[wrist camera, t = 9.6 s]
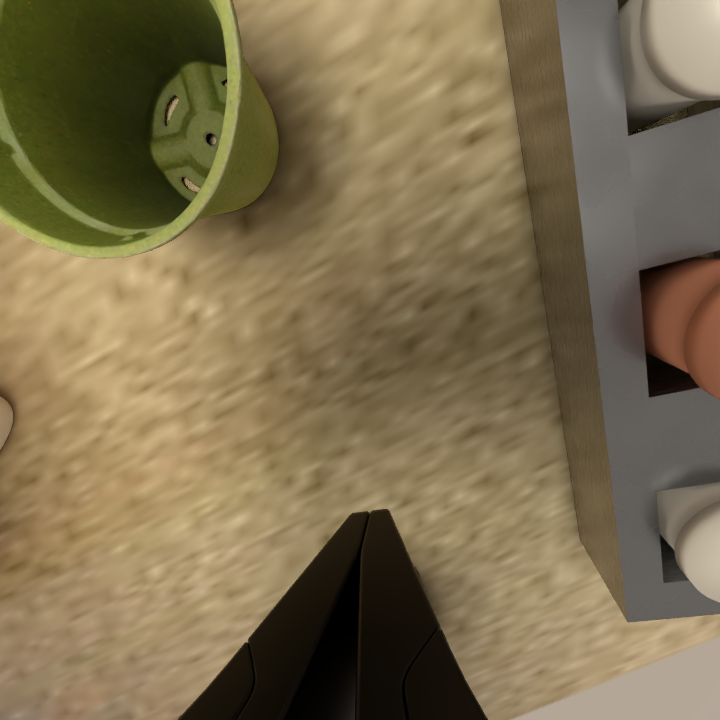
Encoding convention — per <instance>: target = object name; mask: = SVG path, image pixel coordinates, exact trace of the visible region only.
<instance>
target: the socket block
mask: <svg viewBox="0 0 720 720" xmlns="http://www.w3.org/2000/svg"><path fill="white" fill-rule="evenodd" d="M627 1H628V0H500V6H501V13H502V20H503V26H504V33H505V40H506V47H507V53H508V60H509V67H510V73H511V80H512V87H513V93H514V100H515V107H516V113H517V120H518V127H519V133H520V140H521V147H522V154H523V160H524V167H525V174H526V180H527V187H528V194H529V200H530V207H531V214H532V220H533V227H534V234H535V240H536V247H537V254H538V260H539V267H540V274H541V281H542V287H543V294H544V301H545V307H546V314H547V321H548V327H549V334H550V341H551V347H552V354H553V361H554V367H555V374H556V381H557V387H558V394H559V401H560V408H561V414H562V421H563V428H564V434H565V441H566V448H567V454H568V461H569V468H570V474H571V481H572V488H573V494H574V501H575V508H576V515H577V521H578V528H579V535H580V540H581V542H582V544H583V546H584V547H585V549H586V551H587V553H588V554H589V556H590V558H591V560H592V561H593V563H594V565H595V566H596V568H597V570H598V572H599V573H600V575H601V577H602V579H603V580H604V582H605V584H606V586H607V587H608V589H609V591H610V593H611V594H612V596H613V598H614V600H615V601H616V603H617V605H618V606H619V608H620V610H621V612H622V613H623V615H624V617H625V619H626V620H627V622H638V621H649V620H660V619H670V618H681V617H692V616H703V615H714V614H720V602H717V601H714V600H712V599H710V598H708V597H706V596H705V595H703V594H702V593H701V592H700V591H698V590H697V589H696V588H695V586H694V585H693V584H692V583H691V582H690V580H689V579H688V578H687V577H686V575H685V574H684V573H683V572H682V571H681V569H680V568H679V566H678V564H677V562H676V559H675V551H674V549H673V548H672V547H671V546H670V545H669V544H668V542H667V541H666V540H665V539H664V538H663V537H662V535H661V534H660V533H659V520H658V507H657V495H656V492H657V491H663V490H670V489H677V488H683V487H690V486H697V485H704V484H710V483H717V482H720V400H719V399H717V398H715V397H714V396H712V395H710V394H708V393H707V392H705V391H704V390H703V389H701V388H700V387H699V386H698V385H697V384H696V383H695V381H694V380H693V378H692V377H691V375H690V374H689V373H687V372H685V371H683V370H681V369H679V368H677V367H675V366H673V365H671V364H669V363H667V362H665V361H662V360H660V359H658V358H656V357H654V356H652V355H650V354H648V353H646V352H645V343H644V330H643V317H642V305H641V292H640V279H639V270H642V269H646V268H650V267H654V266H658V265H662V264H666V263H670V262H674V261H678V260H682V259H686V258H690V257H704V258H718V259H720V100H713V101H709V100H702V101H700V102H698V103H696V104H693V105H691V106H689V107H688V118H684V119H681V120H678V121H675V122H672V123H668V124H665V125H662V126H659V127H656V128H652V129H649V130H646V131H643V132H640V133H636V134H633V135H630V136H628V127H627V114H626V102H625V89H624V76H623V64H622V51H621V38H620V26H619V13H618V10H619V9H620V8H621V7H622V6H623V5H624V4H625V3H626V2H627Z"/></svg>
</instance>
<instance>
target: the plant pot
mask: <svg viewBox="0 0 720 720" xmlns="http://www.w3.org/2000/svg"><path fill="white" fill-rule="evenodd" d="M225 80H227V87H225V86H223V85H222V82H223V81H225ZM174 96H177V97H178V98H179V102H178V104H177V105H176V107H175V109H174V111H173V113H172V115H171V119H170V120H168V125H167V126H165V125H166V124H165V111H166V107H167V104H168V103H169V101H170V100H171V98H173V97H174ZM209 133H211V134H213V135H215V137H216V139H217V141H216V144H215V145H213V146H211V145H210V144H208V143H207V141H206V136H207V134H209ZM278 154H279V140H278V133H277V127H276V122H275V118H274V115H273V112H272V109H271V107H270V104H269V102H268V101H267V99H266V97H265V95H264V93H263V92H262V90H261V88H260V86H259V84H258V83H257V81H256V79H255V77H254V76H253V74H252V72H251V70H250V69H249V67H248V65H247V63H246V61H245V59H244V58H243V54H242V45H241V37H240V32H239V27H238V21H237V16H236V12H235V9H234V5H233V1H232V0H0V220H1V221H3V222H4V223H5V224H7V225H8V226H10V227H12V228H14V229H15V230H16V231H18V232H19V233H20V234H22V235H24V236H25V237H27V238H29V239H31V240H33V241H35V242H37V243H39V244H42V245H44V246H47V247H49V248H52V249H55V250H58V251H60V252H63V253H67V254H71V255H75V256H79V257H85V258H101V259H106V258H120V257H128V256H133V255H137V254H141V253H145V252H148V251H151V250H153V249H156V248H158V247H160V246H162V245H164V244H166V243H168V242H170V241H172V240H173V239H175V238H176V237H178V236H179V235H180V234H182V233H183V232H184V231H186V230H187V229H188V228H189V227H190V226H191V225H192V224H193V223H195V221H196V220H197V219H201V218H205V217H209V216H214V215H219V214H224V213H228V212H232V211H236V210H238V209H241V208H244V207H245V206H247V205H249V204H251V203H252V202H253V201H255V200H256V199H257V198H258V197H259V196H260V195H261V194H262V193H263V192H264V191H265V189H266V188H267V186H268V185H269V183H270V181H271V179H272V177H273V174H274V172H275V169H276V165H277V160H278ZM182 177H186V178H187V179H188V180H189V181H191V182H192V183H193V184H194V185H196V186H197V187H199V188H200V190H199V192H198V193H195V192H194V191H190V190H189V189H187V188H186V187H185V185H184V184H183V183H182Z"/></svg>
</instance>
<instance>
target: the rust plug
mask: <svg viewBox="0 0 720 720" xmlns="http://www.w3.org/2000/svg"><path fill="white" fill-rule="evenodd" d="M639 279H640V292H641V305H642V317H643V330H644V343H645V352H646V353H648V354H650V355H652V356H654V357H656V358H658V359H660V360H662V361H665V362H667V363H669V364H671V365H673V366H675V367H677V368H679V369H681V370H683V371H685V372H687V373H689V374H690V375H691V377H692V378H693V380H694V381H695V383H696V384H697V385H698V386H699V387H700V388H701V389H703V390H704V391H705V392H707V393H708V394H710V395H712V396H714V397H715V398H717V399H719V400H720V259H718V258H704V257H690V258H686V259H682V260H678V261H674V262H670V263H666V264H662V265H658V266H654V267H650V268H646V269H642V270H639Z"/></svg>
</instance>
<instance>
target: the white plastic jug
mask: <svg viewBox="0 0 720 720" xmlns="http://www.w3.org/2000/svg"><path fill="white" fill-rule="evenodd" d="M12 424H13V410H12V408H11V406H10V404H9V403H8V402H7V401H6V400H5V399H4V398H2V397H1V396H0V450H1V448H2V446H3V445H4V443H5V441H6V439H7V437H8V435H9V433H10V430H11V428H12Z"/></svg>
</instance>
